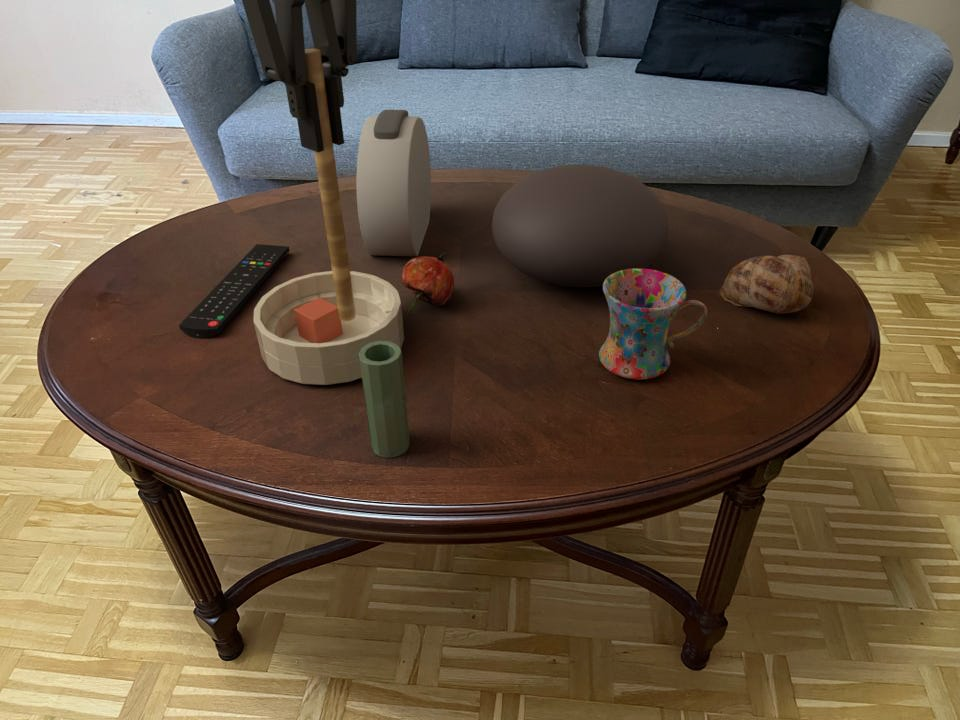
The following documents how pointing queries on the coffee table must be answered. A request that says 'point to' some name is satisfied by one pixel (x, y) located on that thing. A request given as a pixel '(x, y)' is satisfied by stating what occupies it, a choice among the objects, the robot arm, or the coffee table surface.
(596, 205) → the flattened ellipsoid
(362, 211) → the alarm clock
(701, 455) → the coffee table surface
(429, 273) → the pomegranate
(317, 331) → the block
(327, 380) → the bowl
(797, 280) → the seashell
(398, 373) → the holder
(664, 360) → the mug
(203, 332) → the remote control
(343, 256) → the stick
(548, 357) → the coffee table surface
